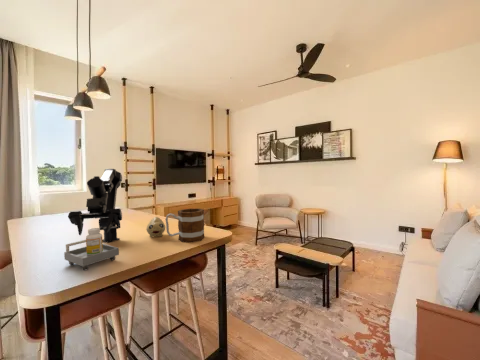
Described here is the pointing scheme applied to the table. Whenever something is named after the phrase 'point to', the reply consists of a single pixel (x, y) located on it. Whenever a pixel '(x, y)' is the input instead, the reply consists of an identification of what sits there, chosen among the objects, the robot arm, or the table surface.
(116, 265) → the table surface
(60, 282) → the table surface
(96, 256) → the grey toy cart
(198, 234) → the mug
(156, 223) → the yellow toy creature
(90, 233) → the supplement bottle
